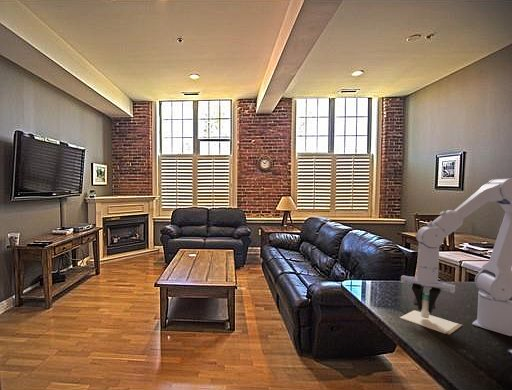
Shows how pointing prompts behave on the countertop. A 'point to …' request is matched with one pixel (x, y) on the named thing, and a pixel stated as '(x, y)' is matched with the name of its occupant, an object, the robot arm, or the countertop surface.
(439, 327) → the notepad
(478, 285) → the robot arm
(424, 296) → the marker
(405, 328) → the countertop surface
